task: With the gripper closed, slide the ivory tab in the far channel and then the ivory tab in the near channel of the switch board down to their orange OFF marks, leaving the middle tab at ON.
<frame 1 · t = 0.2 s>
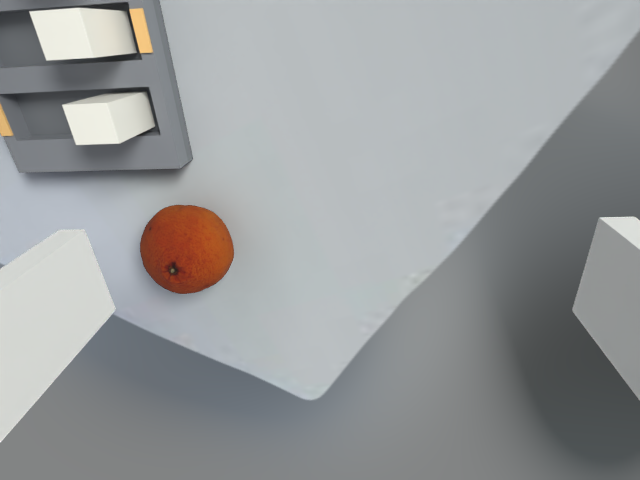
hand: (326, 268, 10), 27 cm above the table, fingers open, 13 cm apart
tab 3: (113, 116, 32), point 5 cm above the table, slide at 0.0 cm
switch board: (77, 36, 34), on the table
fruit: (200, 230, 42), on the table
tab 2: (88, 34, 29), point 4 cm above the table, slide at 0.0 cm
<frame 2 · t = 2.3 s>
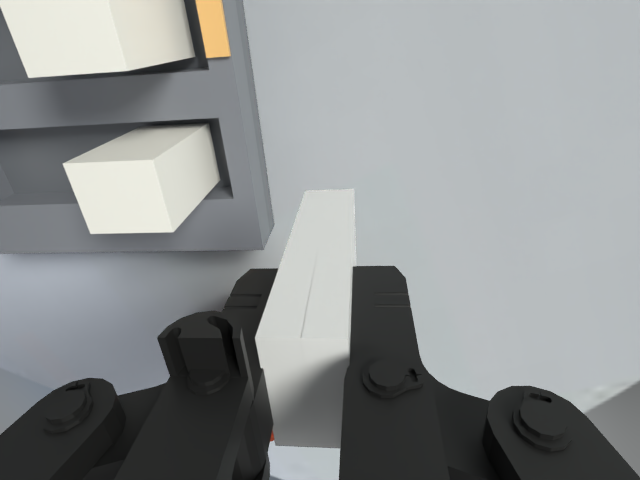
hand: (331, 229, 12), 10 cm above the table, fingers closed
tab 3: (155, 173, 18), point 4 cm above the table, slide at 0.0 cm
switch board: (87, 29, 19), on the table
tab 2: (112, 23, 15), point 4 cm above the table, slide at 0.0 cm
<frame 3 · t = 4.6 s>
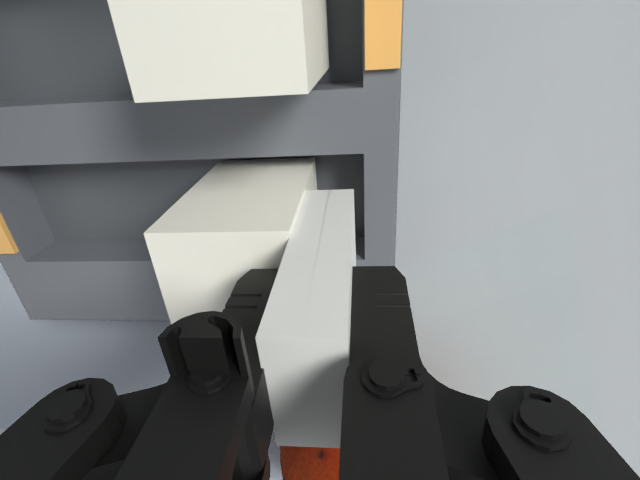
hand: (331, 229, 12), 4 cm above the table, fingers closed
tab 3: (253, 231, 13), point 5 cm above the table, slide at 0.7 cm, touching gripper
switch board: (170, 28, 14), on the table
fruit: (367, 394, 23), on the table
tab 2: (246, 16, 10), point 5 cm above the table, slide at 0.0 cm
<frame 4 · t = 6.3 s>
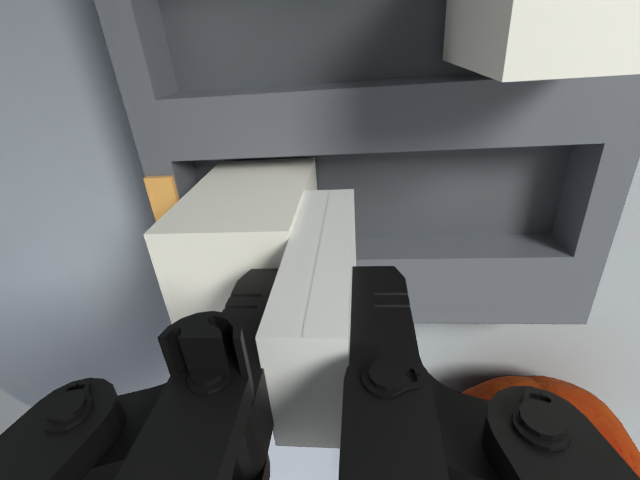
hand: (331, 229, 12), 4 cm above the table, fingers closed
tab 3: (253, 231, 13), point 5 cm above the table, slide at 7.9 cm, touching gripper
switch board: (371, 13, 13), on the table
fruit: (501, 398, 22), on the table
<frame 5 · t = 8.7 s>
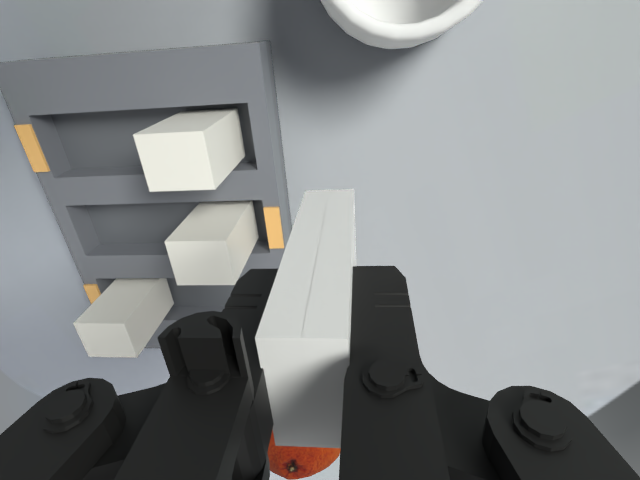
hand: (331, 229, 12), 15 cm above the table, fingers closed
tab 3: (129, 312, 29), point 5 cm above the table, slide at 8.0 cm
tab 1: (196, 146, 22), point 4 cm above the table, slide at 0.0 cm
switch board: (185, 211, 30), on the table
fruit: (300, 387, 38), on the table
tab 2: (217, 239, 25), point 5 cm above the table, slide at 0.0 cm
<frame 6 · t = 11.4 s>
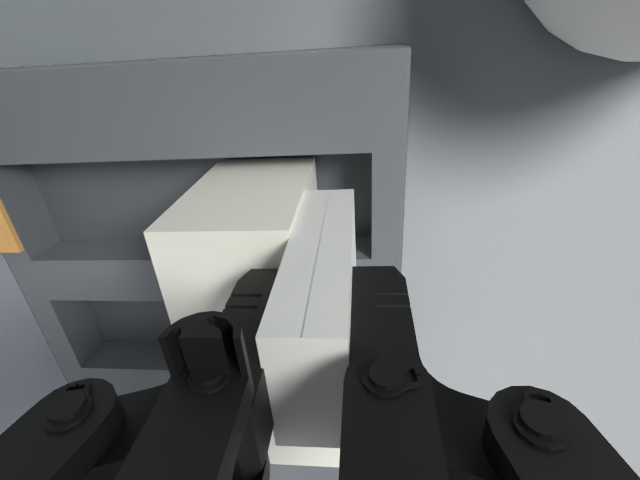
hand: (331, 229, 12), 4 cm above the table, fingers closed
tab 1: (253, 230, 13), point 5 cm above the table, slide at 0.9 cm, touching gripper
switch board: (231, 297, 20), on the table
tab 2: (297, 366, 15), point 5 cm above the table, slide at 0.0 cm
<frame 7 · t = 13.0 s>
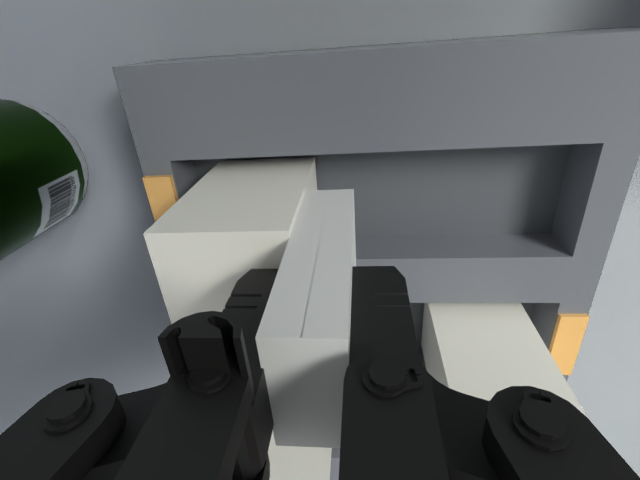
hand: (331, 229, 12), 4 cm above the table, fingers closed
tab 3: (289, 460, 18), point 5 cm above the table, slide at 8.0 cm
tab 1: (253, 231, 13), point 4 cm above the table, slide at 7.9 cm, touching gripper
beer can: (37, 159, 17), on the table
switch board: (372, 298, 19), on the table
tab 2: (483, 370, 15), point 4 cm above the table, slide at 0.0 cm
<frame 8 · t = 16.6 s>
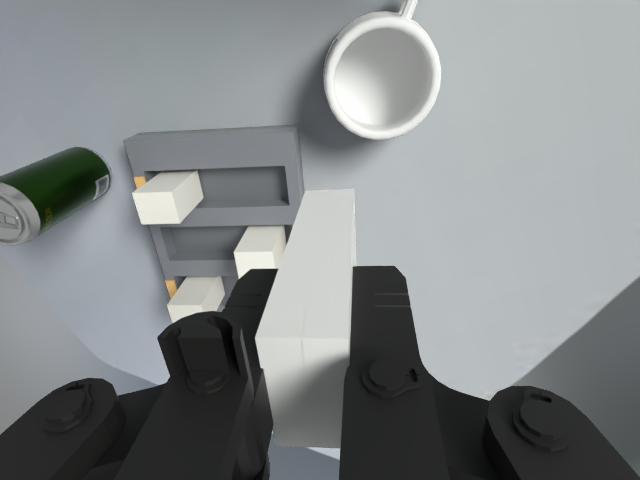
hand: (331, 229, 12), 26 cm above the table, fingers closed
tab 3: (198, 299, 42), point 5 cm above the table, slide at 8.0 cm
mug: (383, 60, 34), on the table
tab 1: (170, 195, 37), point 5 cm above the table, slide at 8.0 cm
beer can: (90, 169, 42), on the table
switch board: (235, 230, 43), on the table
tab 2: (262, 249, 39), point 5 cm above the table, slide at 0.0 cm
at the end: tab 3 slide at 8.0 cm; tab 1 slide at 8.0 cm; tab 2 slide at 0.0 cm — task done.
